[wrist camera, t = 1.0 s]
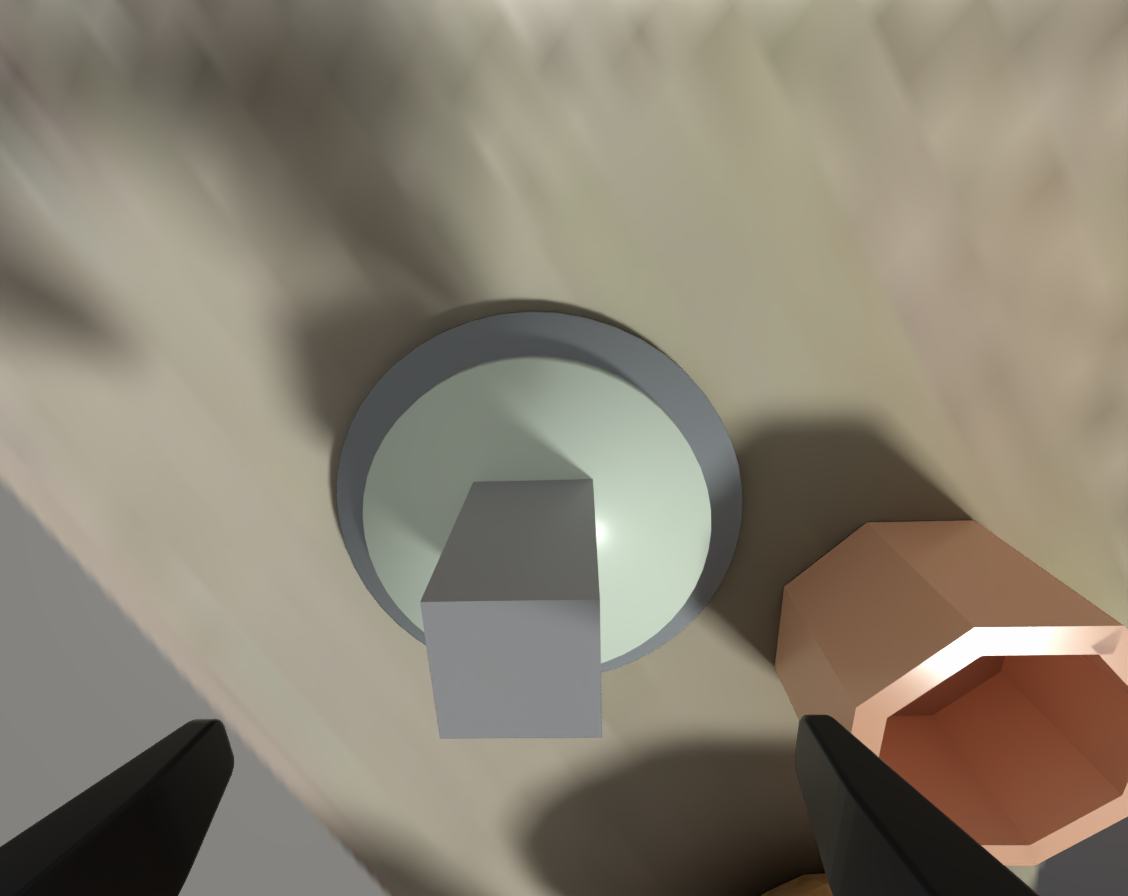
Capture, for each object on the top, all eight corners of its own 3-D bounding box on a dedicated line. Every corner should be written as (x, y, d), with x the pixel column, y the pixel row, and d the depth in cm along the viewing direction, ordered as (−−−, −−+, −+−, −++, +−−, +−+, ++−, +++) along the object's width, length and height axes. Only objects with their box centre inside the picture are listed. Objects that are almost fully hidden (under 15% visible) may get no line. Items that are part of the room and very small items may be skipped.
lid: (696, 651, 17) (754, 851, 11) (397, 655, 17) (311, 850, 12) (713, 349, 14) (804, 421, 8) (347, 360, 14) (197, 436, 8)
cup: (992, 717, 18) (1122, 866, 13) (768, 718, 18) (826, 865, 14) (1051, 518, 15) (1231, 624, 11) (791, 524, 16) (870, 629, 11)
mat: (725, 668, 17) (728, 678, 17) (374, 672, 18) (370, 681, 17) (754, 304, 14) (759, 305, 13) (307, 318, 14) (300, 320, 14)
